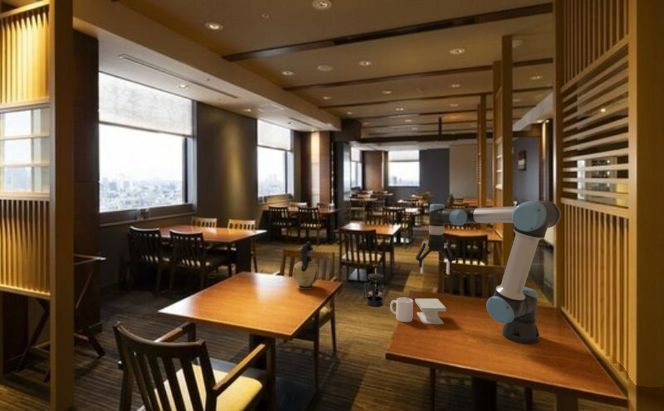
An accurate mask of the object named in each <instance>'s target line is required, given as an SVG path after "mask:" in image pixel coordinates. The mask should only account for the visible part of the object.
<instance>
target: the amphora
mask: <svg viewBox="0 0 664 411" xmlns="http://www.w3.org/2000/svg"><path fill="white" fill-rule="evenodd" d="M297 250H298V251H299V252H300V254H301V259H300V260H299V261H298V262H297V263H295V265H294V266H293V271H292V273H293V277H294V280H295V282H296V283H297V284H298V289H300V290H311V289H313V288H314V286H313V285H314V284H315V283H316V282H317V279H318V278H319V274H320V268H319V265H318V263H316V262H314V261H313V260H312V255H313V253H314V251H316V248H315V247H313V246H312V242H311V241H310V240H309V241H306V243H304V244H303V245H302V247H299V248H297Z"/></svg>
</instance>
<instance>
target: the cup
mask: <svg viewBox="0 0 664 411" xmlns="http://www.w3.org/2000/svg"><path fill="white" fill-rule="evenodd" d="M393 304H396V306H395V308H396V310H395V311H394V310H393ZM413 307H414V300H413V299H412V298H410V297H405V296H404V297H396V300H395V299H394V300H391V302H390V304H389V308H390V313H392V314H393V315H395V318H396V320H397V321H398V322H401V323H410V322H412V321H413V314H414V308H413Z"/></svg>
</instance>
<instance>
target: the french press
mask: <svg viewBox="0 0 664 411" xmlns="http://www.w3.org/2000/svg"><path fill="white" fill-rule="evenodd" d="M371 266H372V267H374V269H375V270H374V272H375V273H368V274H367V277H368V280H369V282H365V283H364V284H363V287H364V288H363V298H364V299H365V300H367V301H366V305H367V306H368V307H372V308H380V307H383V306H384V283H383V282H381V279H382V278H384V274H381V273H377V268H378V267H380V265H379V264H372V265H371ZM366 285H367V288H370V289H372V290H370V291H369V289H367V290H366ZM379 289H382V291H379ZM366 291H367V296H366Z"/></svg>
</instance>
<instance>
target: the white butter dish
mask: <svg viewBox="0 0 664 411" xmlns="http://www.w3.org/2000/svg"><path fill="white" fill-rule="evenodd" d="M416 314H417V316H418V318H419V319H420V321H421V322H422V323H423V325H444V321H443V320H442V319H441V317H440V316H439V311H422V310H421V311H420V312H419V311H417V312H416Z"/></svg>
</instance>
